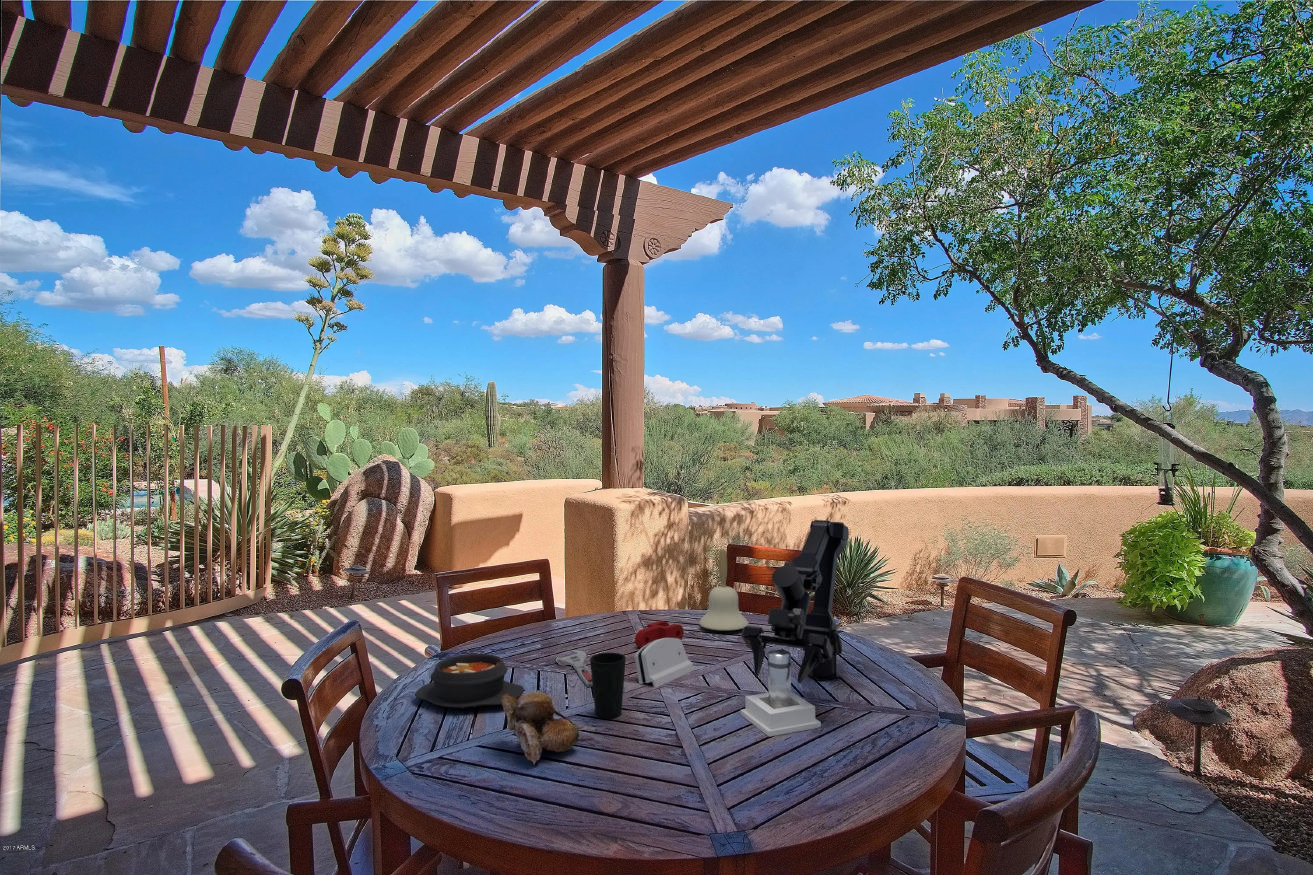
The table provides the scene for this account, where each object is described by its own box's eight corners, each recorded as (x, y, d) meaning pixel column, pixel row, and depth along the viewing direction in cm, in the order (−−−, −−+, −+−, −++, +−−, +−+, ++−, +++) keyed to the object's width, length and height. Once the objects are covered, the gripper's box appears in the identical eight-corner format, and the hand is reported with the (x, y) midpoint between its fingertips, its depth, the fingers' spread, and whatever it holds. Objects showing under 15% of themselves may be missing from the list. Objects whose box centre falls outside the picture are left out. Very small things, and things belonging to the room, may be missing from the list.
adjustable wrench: (564, 692, 162) (564, 683, 162) (554, 658, 187) (554, 650, 187) (599, 690, 164) (599, 681, 164) (584, 656, 189) (584, 648, 189)
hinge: (654, 688, 162) (643, 645, 164) (640, 690, 165) (629, 649, 167) (695, 669, 175) (684, 630, 178) (681, 672, 178) (670, 633, 180)
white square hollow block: (789, 706, 150) (789, 687, 150) (820, 727, 139) (820, 707, 139) (740, 714, 146) (740, 695, 146) (768, 736, 135) (768, 716, 135)
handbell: (734, 637, 204) (733, 553, 204) (690, 630, 212) (689, 549, 212) (756, 626, 217) (755, 547, 217) (714, 619, 225) (713, 543, 225)
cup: (631, 709, 149) (631, 654, 149) (618, 722, 142) (617, 664, 142) (599, 705, 152) (598, 650, 152) (584, 718, 145) (584, 661, 145)
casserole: (537, 689, 162) (537, 654, 162) (501, 720, 144) (501, 680, 144) (442, 682, 168) (442, 647, 168) (396, 710, 150) (396, 672, 150)
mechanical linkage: (665, 635, 208) (665, 619, 208) (683, 640, 203) (683, 623, 203) (628, 647, 196) (628, 630, 196) (647, 652, 191) (647, 634, 191)
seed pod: (514, 694, 141) (481, 696, 127) (588, 680, 138) (563, 681, 125) (520, 763, 136) (487, 773, 122) (597, 750, 134) (571, 759, 120)
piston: (775, 709, 146) (775, 647, 146) (796, 714, 143) (795, 652, 143) (763, 716, 142) (763, 653, 142) (784, 722, 139) (783, 658, 139)
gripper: (743, 588, 151) (724, 652, 141) (827, 596, 142) (813, 665, 132) (757, 616, 158) (739, 679, 148) (838, 626, 148) (825, 693, 139)
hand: (777, 678), depth 141 cm, fingers open, 9 cm apart
